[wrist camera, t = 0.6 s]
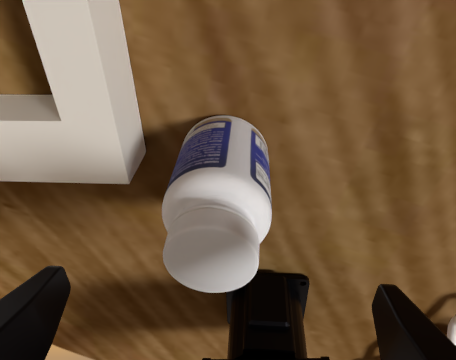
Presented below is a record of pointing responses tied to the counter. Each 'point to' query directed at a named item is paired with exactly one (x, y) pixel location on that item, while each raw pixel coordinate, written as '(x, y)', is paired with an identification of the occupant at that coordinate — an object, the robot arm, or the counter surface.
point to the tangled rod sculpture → (452, 330)
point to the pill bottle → (217, 206)
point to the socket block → (75, 100)
